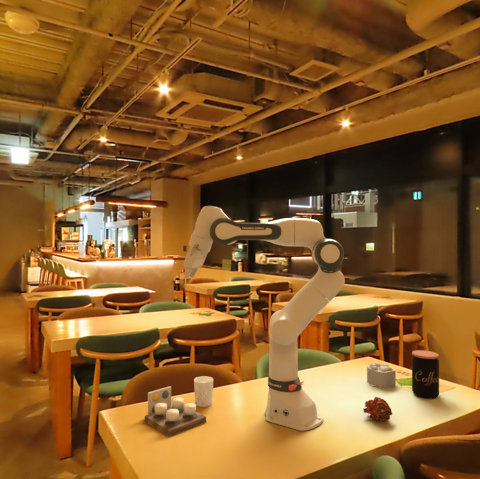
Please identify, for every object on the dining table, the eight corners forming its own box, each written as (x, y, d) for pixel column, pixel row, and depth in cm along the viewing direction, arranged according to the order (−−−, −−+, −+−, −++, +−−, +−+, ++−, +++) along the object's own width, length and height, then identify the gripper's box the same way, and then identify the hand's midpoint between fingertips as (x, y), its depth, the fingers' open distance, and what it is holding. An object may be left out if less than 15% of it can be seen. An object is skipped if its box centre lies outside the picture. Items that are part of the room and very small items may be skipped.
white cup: (210, 408, 157) (210, 383, 157) (191, 406, 158) (191, 381, 159) (215, 401, 164) (215, 376, 165) (197, 399, 166) (197, 375, 166)
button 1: (198, 412, 145) (198, 405, 145) (188, 415, 141) (188, 408, 142) (191, 408, 148) (191, 402, 148) (181, 412, 145) (181, 405, 145)
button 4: (169, 412, 145) (169, 405, 145) (158, 415, 142) (158, 408, 142) (162, 408, 148) (162, 401, 148) (152, 411, 145) (152, 405, 145)
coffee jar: (412, 397, 169) (412, 355, 169) (411, 389, 178) (411, 349, 179) (440, 401, 165) (440, 357, 165) (438, 392, 174) (437, 351, 175)
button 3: (186, 406, 150) (186, 399, 150) (176, 409, 147) (176, 402, 147) (179, 403, 153) (179, 396, 153) (169, 406, 150) (169, 399, 150)
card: (171, 409, 155) (171, 386, 155) (149, 417, 148) (149, 393, 148) (170, 409, 156) (170, 386, 156) (147, 416, 149) (147, 392, 149)
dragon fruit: (389, 431, 141) (366, 422, 152) (402, 413, 144) (379, 406, 155) (376, 413, 140) (354, 406, 151) (389, 395, 143) (367, 389, 154)
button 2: (181, 418, 139) (181, 411, 139) (170, 422, 136) (170, 415, 136) (174, 414, 142) (174, 407, 142) (163, 418, 139) (163, 411, 139)
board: (206, 422, 144) (206, 416, 144) (169, 436, 133) (169, 429, 133) (180, 409, 156) (180, 403, 156) (144, 421, 145) (144, 415, 145)
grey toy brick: (382, 389, 178) (382, 370, 179) (361, 380, 190) (361, 362, 190) (398, 385, 183) (398, 366, 184) (376, 377, 195) (376, 359, 195)
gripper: (202, 247, 146) (190, 282, 146) (211, 247, 166) (201, 278, 166) (186, 241, 147) (174, 276, 147) (198, 242, 167) (187, 273, 167)
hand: (188, 277), depth 157 cm, fingers open, 8 cm apart
